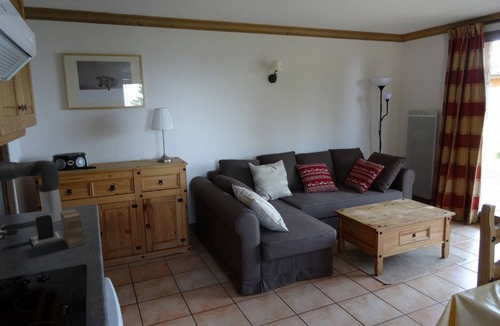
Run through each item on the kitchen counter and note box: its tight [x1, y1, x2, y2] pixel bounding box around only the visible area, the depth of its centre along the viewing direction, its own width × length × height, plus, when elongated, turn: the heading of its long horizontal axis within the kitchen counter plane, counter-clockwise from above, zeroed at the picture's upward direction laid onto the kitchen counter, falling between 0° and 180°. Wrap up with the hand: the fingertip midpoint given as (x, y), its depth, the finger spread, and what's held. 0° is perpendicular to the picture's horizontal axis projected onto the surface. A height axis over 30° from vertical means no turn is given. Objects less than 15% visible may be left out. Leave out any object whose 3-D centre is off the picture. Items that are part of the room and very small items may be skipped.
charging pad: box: [30, 230, 64, 248], centre depth 164 cm, size 12×12×1 cm
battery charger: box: [34, 213, 54, 240], centre depth 163 cm, size 7×4×11 cm, turn 125°
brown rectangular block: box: [60, 208, 85, 249], centre depth 158 cm, size 12×6×14 cm, turn 38°
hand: (16, 228), depth 156 cm, fingers open, 8 cm apart
